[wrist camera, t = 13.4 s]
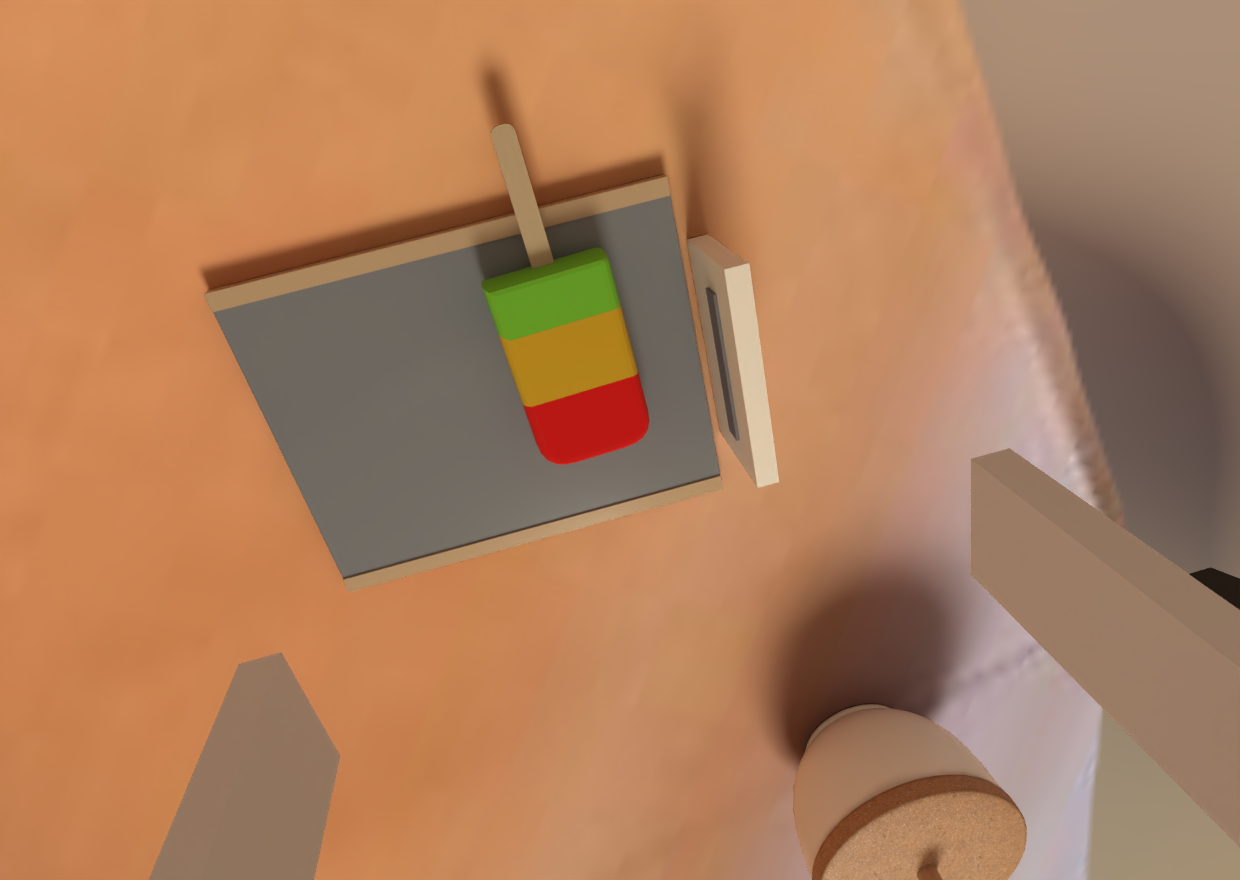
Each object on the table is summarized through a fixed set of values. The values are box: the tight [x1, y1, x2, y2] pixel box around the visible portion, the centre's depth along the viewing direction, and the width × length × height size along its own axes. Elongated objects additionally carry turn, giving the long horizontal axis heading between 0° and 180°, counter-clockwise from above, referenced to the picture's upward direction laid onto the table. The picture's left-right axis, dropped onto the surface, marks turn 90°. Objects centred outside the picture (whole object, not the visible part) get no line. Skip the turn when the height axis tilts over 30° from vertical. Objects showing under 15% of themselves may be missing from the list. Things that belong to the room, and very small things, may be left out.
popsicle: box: [481, 123, 649, 465], centre depth 33 cm, size 6×15×2 cm, turn 14°
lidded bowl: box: [793, 704, 1027, 880], centre depth 46 cm, size 13×13×11 cm
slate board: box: [204, 175, 723, 592], centre depth 35 cm, size 20×16×1 cm
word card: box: [687, 234, 779, 488], centre depth 34 cm, size 1×10×6 cm, turn 12°
